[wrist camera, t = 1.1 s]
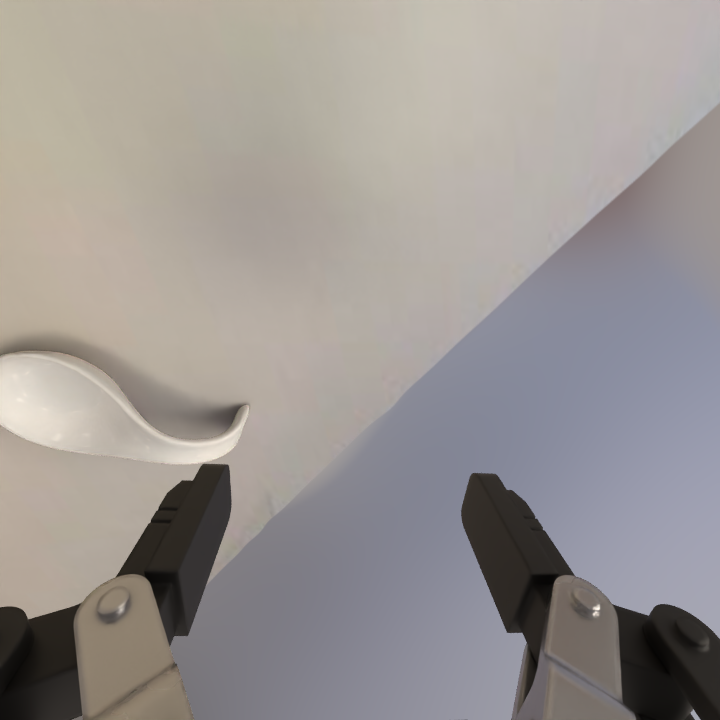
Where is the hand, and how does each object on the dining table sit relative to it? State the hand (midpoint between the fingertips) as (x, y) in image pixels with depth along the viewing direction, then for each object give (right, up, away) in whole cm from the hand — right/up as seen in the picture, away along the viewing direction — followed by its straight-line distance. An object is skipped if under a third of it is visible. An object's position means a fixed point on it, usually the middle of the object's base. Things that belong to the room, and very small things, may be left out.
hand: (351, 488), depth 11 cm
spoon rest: (-24, +1, +27) cm, 36 cm away
